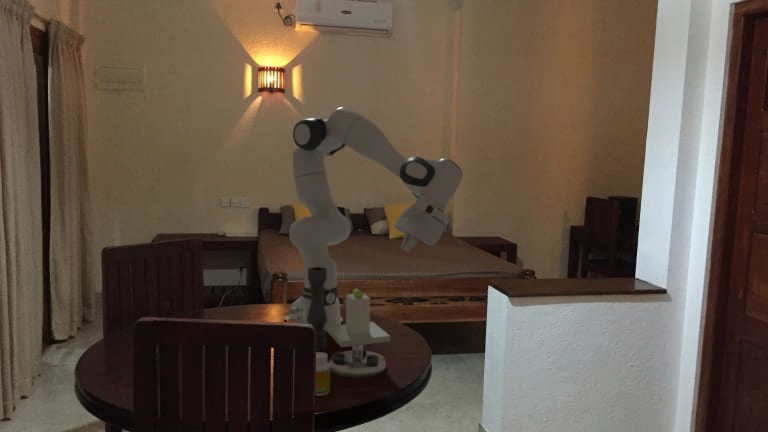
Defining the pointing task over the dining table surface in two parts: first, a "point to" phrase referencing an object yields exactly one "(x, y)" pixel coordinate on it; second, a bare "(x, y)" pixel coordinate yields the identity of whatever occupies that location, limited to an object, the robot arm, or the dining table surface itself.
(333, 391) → the dining table surface
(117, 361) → the dining table surface
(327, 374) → the supplement bottle
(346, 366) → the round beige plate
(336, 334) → the white stepped fixture
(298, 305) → the robot arm
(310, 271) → the candle holder
